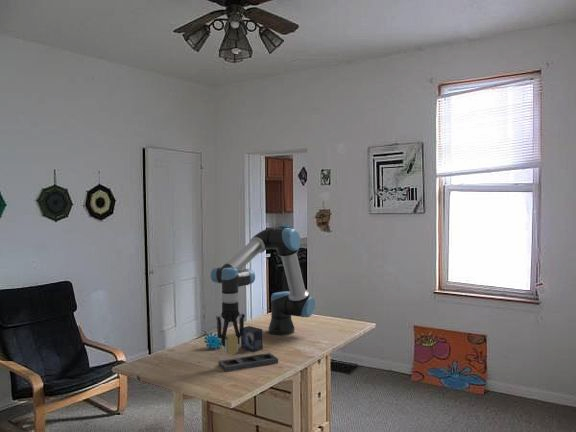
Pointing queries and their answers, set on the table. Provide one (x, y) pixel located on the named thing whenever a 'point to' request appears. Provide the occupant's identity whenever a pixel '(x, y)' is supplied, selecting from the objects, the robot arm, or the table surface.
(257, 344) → the small box
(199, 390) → the table surface
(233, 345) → the olive yellow block
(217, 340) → the gear
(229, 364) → the grey flat frame
